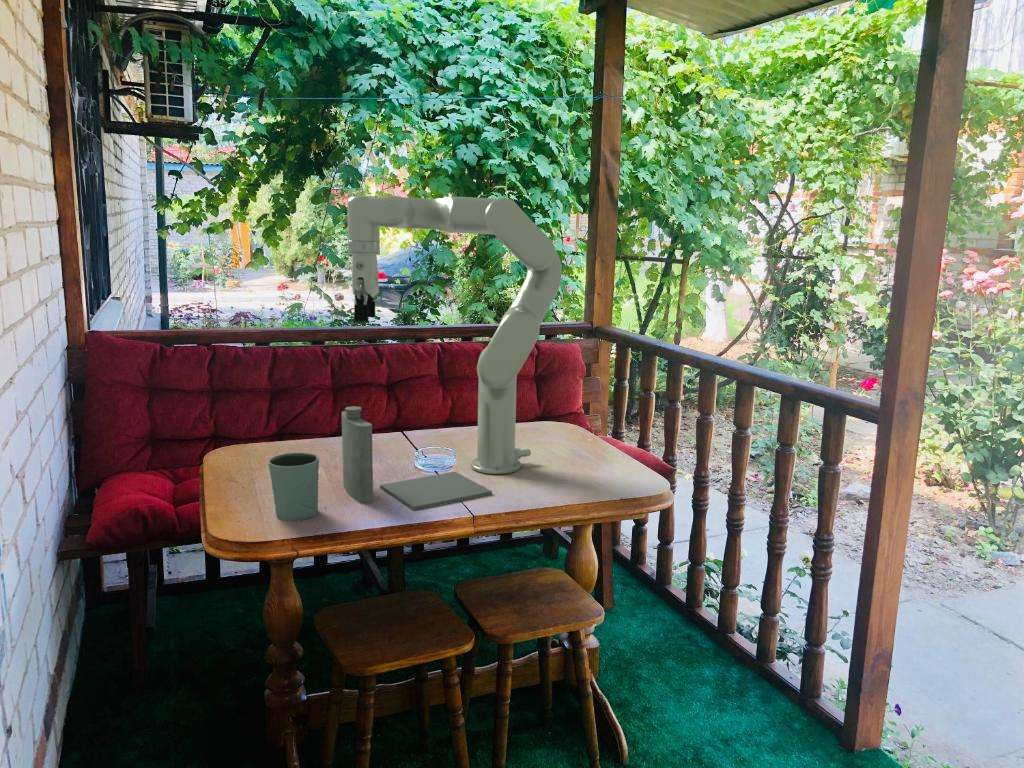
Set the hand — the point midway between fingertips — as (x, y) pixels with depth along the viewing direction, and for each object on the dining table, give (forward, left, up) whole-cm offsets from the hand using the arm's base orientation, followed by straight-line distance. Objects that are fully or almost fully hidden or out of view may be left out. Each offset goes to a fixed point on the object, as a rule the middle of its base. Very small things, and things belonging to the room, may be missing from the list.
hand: (365, 319), depth 193 cm
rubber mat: (-5, +27, -37) cm, 46 cm away
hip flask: (+11, +18, -38) cm, 43 cm away
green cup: (+27, +24, -38) cm, 52 cm away
